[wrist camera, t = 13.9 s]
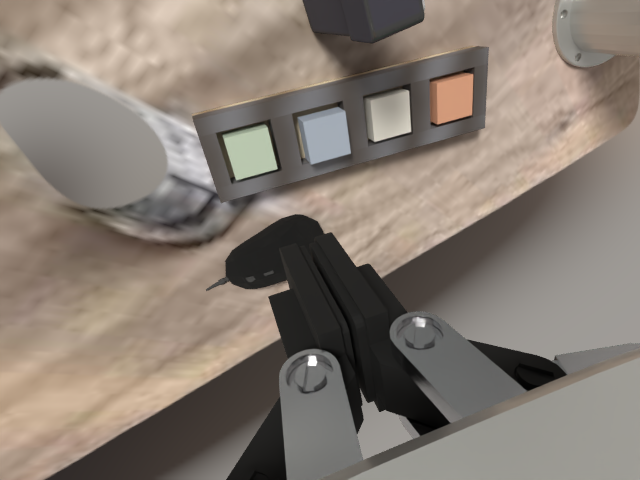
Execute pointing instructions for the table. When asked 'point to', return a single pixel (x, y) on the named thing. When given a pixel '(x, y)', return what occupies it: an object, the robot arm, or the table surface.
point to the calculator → (363, 17)
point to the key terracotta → (451, 97)
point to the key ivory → (387, 114)
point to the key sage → (250, 150)
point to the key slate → (324, 135)
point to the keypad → (348, 96)
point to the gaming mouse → (268, 252)
